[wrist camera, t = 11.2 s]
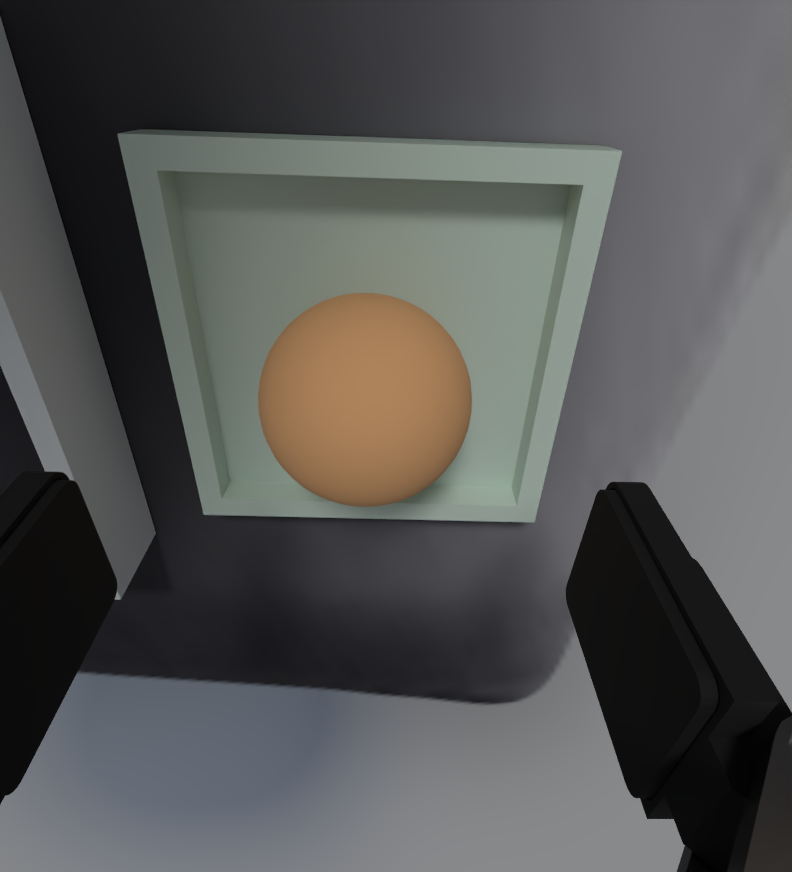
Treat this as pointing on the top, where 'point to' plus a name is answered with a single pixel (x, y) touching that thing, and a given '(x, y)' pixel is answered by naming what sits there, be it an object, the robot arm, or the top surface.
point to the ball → (365, 399)
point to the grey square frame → (59, 344)
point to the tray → (370, 289)
